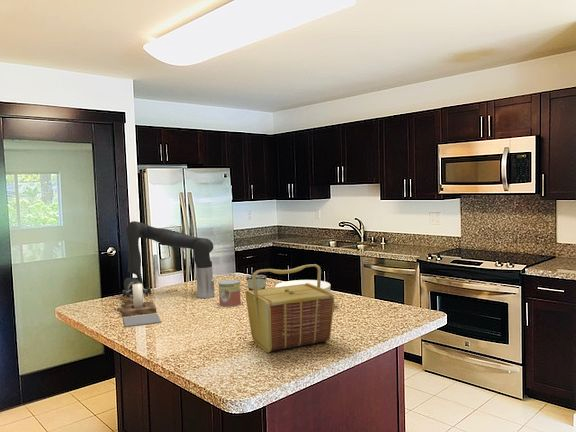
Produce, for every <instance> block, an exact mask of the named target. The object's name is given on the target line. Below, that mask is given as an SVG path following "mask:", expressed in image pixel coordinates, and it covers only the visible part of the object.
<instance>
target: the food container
mask: <svg viewBox="0 0 576 432" xmlns="http://www.w3.org/2000/svg"><path fill="white" fill-rule="evenodd" d="M252 277H253V274H252V275H247V276H246V277H245V280H246V283H247V289H248V290H249V291H251V290H254V288H253V280H252ZM267 280H268V279H267V276H266V275H264V274H257V275H256V285H257V290H260V289H266V282H267Z"/></svg>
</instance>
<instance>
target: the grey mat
mask: <svg viewBox="0 0 576 432" xmlns="http://www.w3.org/2000/svg"><path fill="white" fill-rule="evenodd" d="M161 323H162V320H161V318H160V317H159V314H158V313H151V314H143V315H135V316H127V317H123V324H124V328H130V327H132V328H133V327H138V326H146V325H153V324H161Z"/></svg>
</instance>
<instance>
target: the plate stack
mask: <svg viewBox="0 0 576 432" xmlns="http://www.w3.org/2000/svg"><path fill="white" fill-rule="evenodd" d="M306 283H309V284H312V285H315V286H317V279H297V280H296V279H294V280H288V281H282V282H279V283H277V284H275V286H274V288H276V287H284V286H292V285H300V284H306ZM320 288H322V289H325V290H328V291H330V292H332V291H331V290H332V289H331V283H330V282H328V281H325V280H321V283H320Z"/></svg>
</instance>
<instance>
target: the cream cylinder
mask: <svg viewBox="0 0 576 432" xmlns="http://www.w3.org/2000/svg"><path fill="white" fill-rule="evenodd" d="M132 286H133V297H132V302H133V303H132V304H133V305H134V308H142V307H143V302H144V295H143V290H142V284H141V283H138V284H133V285H132Z"/></svg>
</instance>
